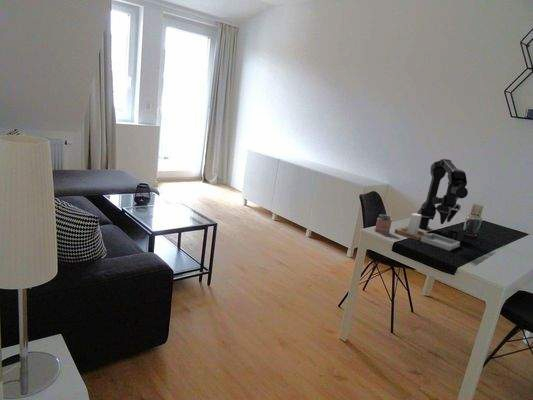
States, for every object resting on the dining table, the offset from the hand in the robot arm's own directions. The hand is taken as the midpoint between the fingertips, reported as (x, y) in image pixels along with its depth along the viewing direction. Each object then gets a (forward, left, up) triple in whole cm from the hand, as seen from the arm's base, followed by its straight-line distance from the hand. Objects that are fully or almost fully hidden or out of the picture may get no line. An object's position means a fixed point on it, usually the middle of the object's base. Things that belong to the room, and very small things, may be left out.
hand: (444, 223), depth 195 cm
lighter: (+14, -27, -12) cm, 32 cm away
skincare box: (0, -16, -12) cm, 20 cm away
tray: (0, 0, -12) cm, 12 cm away
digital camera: (-17, +2, -12) cm, 21 cm away
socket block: (0, -16, -12) cm, 19 cm away
